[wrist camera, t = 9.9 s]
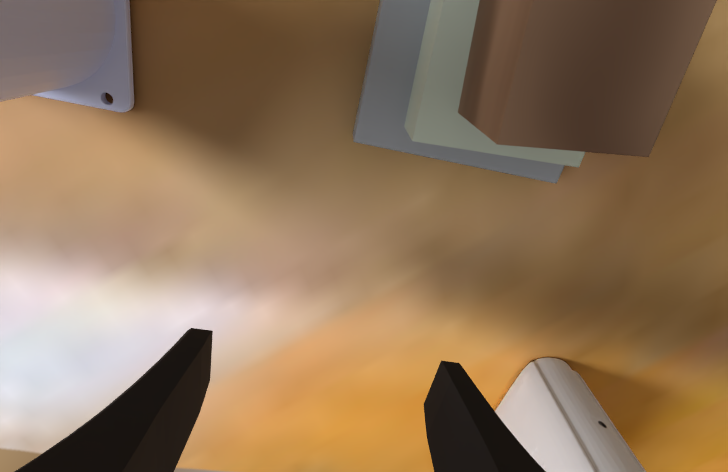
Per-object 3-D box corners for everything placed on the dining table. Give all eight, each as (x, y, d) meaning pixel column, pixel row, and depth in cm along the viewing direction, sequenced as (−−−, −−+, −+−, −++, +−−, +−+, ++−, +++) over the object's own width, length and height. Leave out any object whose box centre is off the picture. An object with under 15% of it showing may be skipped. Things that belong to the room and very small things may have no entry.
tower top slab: (404, 126, 18) (412, 141, 16) (444, -66, 15) (462, -82, 12) (551, 150, 19) (578, 167, 16) (620, -28, 15) (666, -36, 13)
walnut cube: (457, 112, 15) (496, 144, 11) (485, -29, 13) (546, -52, 9) (571, 122, 15) (648, 157, 12) (616, -14, 13) (729, -29, 9)
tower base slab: (352, 129, 20) (353, 141, 18) (403, -122, 16) (413, -146, 14) (534, 167, 22) (556, 183, 19) (629, -55, 17) (671, -66, 15)
